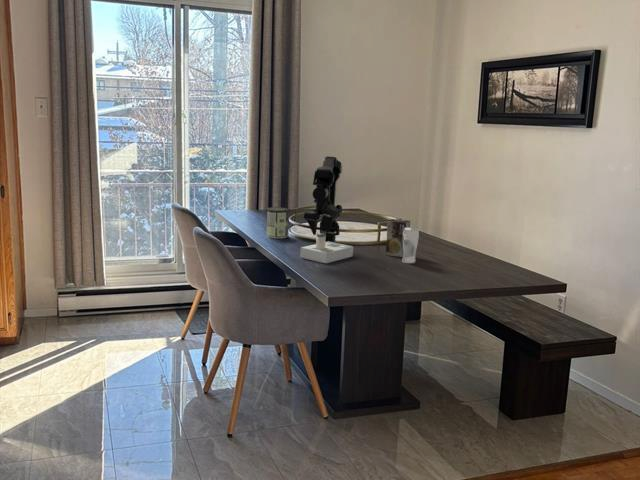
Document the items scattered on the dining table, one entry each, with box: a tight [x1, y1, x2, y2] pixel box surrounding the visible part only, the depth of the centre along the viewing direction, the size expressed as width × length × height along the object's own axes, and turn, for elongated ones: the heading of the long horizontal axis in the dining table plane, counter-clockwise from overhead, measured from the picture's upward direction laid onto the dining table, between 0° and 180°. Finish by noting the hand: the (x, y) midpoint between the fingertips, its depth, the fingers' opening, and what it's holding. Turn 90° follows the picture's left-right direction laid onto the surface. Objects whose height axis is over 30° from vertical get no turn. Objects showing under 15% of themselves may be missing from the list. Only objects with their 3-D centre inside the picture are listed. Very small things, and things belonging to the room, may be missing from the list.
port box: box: [299, 241, 354, 264], centre depth 291 cm, size 20×14×5 cm
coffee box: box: [385, 218, 411, 258], centre depth 300 cm, size 9×6×16 cm
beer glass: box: [401, 226, 420, 265], centre depth 287 cm, size 7×7×15 cm
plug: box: [315, 232, 326, 251], centre depth 286 cm, size 4×4×10 cm
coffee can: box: [266, 206, 289, 239], centre depth 328 cm, size 10×10×14 cm
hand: (321, 233), depth 285 cm, fingers open, 9 cm apart
